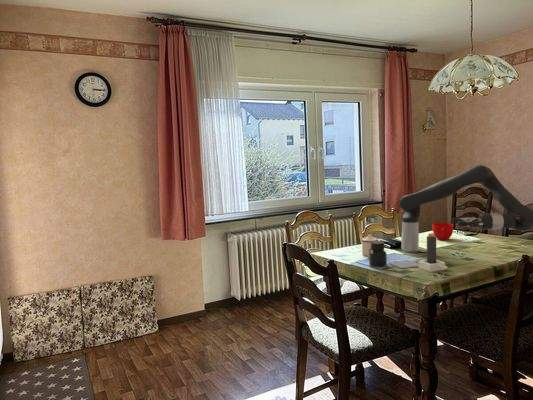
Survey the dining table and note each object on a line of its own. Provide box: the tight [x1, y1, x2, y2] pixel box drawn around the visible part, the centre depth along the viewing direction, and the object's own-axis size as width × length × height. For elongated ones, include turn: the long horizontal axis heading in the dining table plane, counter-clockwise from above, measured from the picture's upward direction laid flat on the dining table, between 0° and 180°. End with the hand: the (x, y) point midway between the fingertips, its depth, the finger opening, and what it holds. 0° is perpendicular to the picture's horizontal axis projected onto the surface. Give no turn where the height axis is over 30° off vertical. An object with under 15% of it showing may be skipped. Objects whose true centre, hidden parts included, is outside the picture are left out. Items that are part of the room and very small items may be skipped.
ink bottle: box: [368, 240, 388, 268], centre depth 217 cm, size 10×9×12 cm
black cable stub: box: [426, 232, 437, 264], centre depth 205 cm, size 4×4×18 cm
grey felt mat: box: [388, 259, 418, 270], centre depth 215 cm, size 12×12×1 cm
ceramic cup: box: [431, 222, 454, 241], centre depth 273 cm, size 13×17×10 cm
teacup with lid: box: [361, 234, 379, 257], centre depth 241 cm, size 12×9×12 cm
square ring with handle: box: [417, 259, 448, 273], centre depth 203 cm, size 15×9×4 cm, turn 18°
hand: (455, 222), depth 203 cm, fingers open, 8 cm apart
